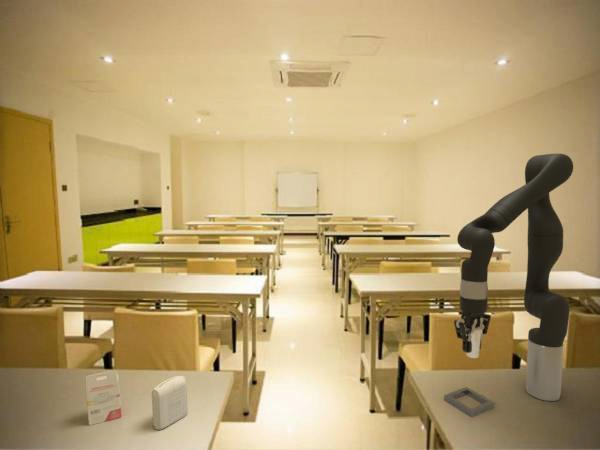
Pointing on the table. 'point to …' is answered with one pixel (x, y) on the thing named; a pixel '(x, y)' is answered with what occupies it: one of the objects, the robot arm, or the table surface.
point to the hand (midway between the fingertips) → (471, 349)
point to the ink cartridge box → (103, 397)
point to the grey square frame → (470, 411)
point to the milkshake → (475, 343)
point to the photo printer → (169, 402)
